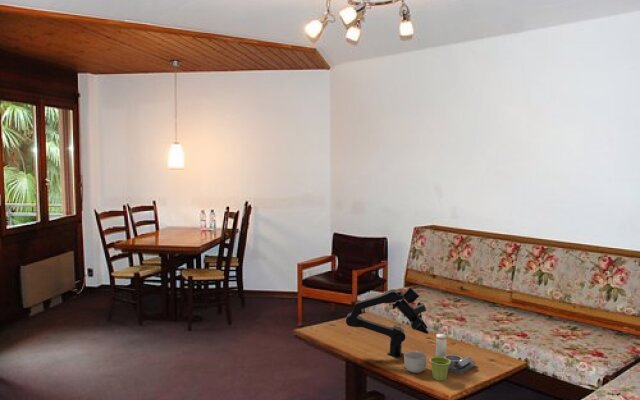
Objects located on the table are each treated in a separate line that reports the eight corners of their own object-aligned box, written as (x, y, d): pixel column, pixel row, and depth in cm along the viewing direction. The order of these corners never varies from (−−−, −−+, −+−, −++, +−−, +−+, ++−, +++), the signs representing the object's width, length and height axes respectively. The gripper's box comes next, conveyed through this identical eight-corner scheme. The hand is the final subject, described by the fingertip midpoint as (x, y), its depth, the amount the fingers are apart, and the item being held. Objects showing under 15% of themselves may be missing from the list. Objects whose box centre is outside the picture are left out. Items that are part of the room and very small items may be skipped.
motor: (460, 374, 260) (460, 364, 259) (436, 367, 268) (436, 357, 268) (475, 365, 272) (475, 355, 271) (451, 359, 280) (451, 349, 280)
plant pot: (452, 377, 256) (453, 359, 255) (445, 384, 248) (446, 365, 248) (433, 373, 261) (434, 355, 260) (426, 379, 253) (427, 361, 253)
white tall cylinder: (442, 360, 278) (443, 337, 277) (433, 358, 282) (434, 335, 281) (447, 358, 282) (448, 335, 281) (438, 355, 286) (439, 333, 285)
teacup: (421, 376, 256) (421, 360, 256) (399, 371, 262) (400, 355, 262) (431, 367, 268) (432, 351, 268) (411, 363, 274) (411, 347, 273)
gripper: (417, 303, 273) (440, 325, 273) (416, 294, 292) (437, 315, 291) (402, 318, 275) (424, 340, 274) (401, 308, 293) (422, 329, 293)
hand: (427, 330), depth 283 cm, fingers open, 9 cm apart
